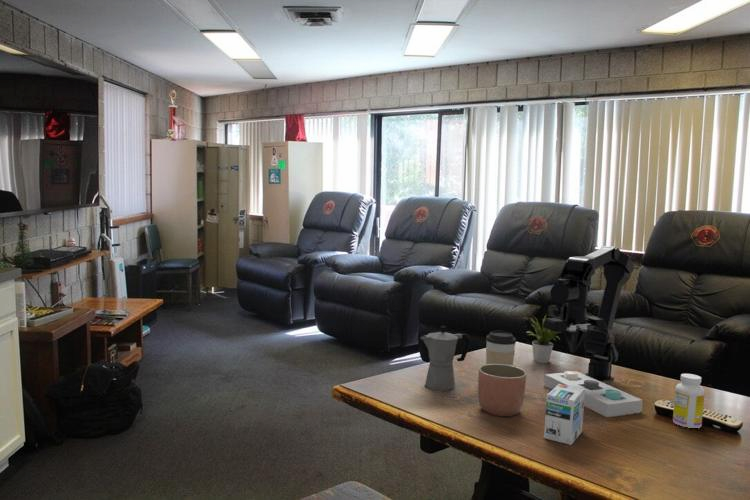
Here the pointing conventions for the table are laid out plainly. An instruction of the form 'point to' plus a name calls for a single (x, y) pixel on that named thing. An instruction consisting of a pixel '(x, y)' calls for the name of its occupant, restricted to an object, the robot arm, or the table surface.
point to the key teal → (613, 394)
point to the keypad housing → (598, 396)
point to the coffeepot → (443, 358)
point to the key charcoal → (591, 384)
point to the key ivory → (570, 375)
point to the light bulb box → (564, 414)
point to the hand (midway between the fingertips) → (572, 352)
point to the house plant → (542, 342)
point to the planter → (501, 389)
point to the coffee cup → (500, 348)
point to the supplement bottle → (689, 402)
